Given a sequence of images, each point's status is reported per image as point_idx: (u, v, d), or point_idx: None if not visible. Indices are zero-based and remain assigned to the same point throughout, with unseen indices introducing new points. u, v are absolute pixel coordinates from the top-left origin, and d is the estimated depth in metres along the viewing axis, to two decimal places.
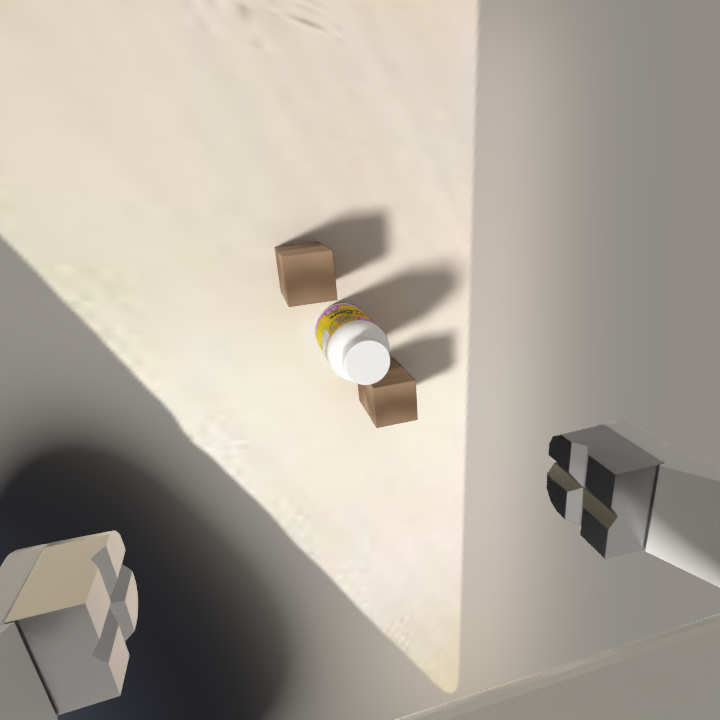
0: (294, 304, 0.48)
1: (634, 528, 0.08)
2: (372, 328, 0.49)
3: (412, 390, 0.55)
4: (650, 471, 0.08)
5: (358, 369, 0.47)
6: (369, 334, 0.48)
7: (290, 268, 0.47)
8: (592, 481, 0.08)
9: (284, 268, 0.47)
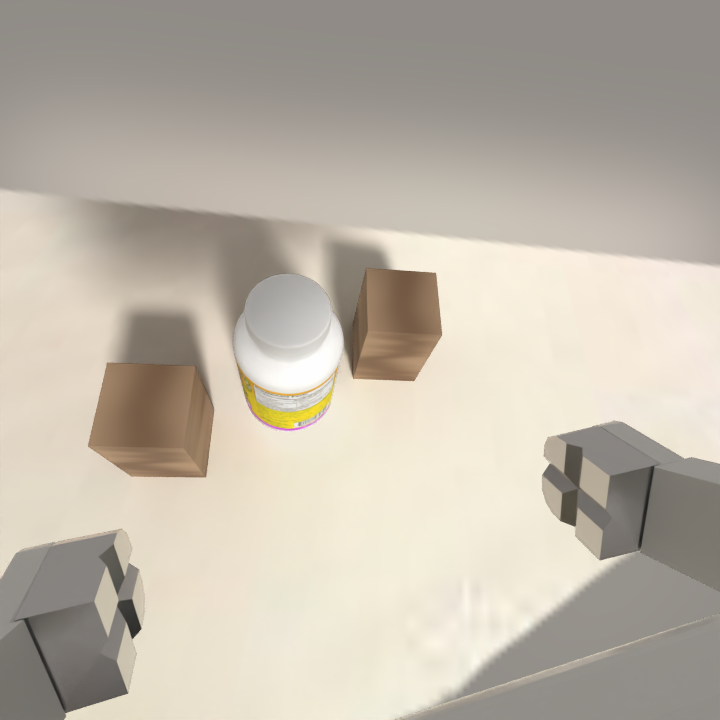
0: (181, 437, 0.27)
1: (629, 529, 0.08)
2: None
3: (383, 274, 0.33)
4: (644, 472, 0.08)
5: (297, 324, 0.25)
6: None
7: (113, 435, 0.26)
8: (587, 482, 0.08)
9: (110, 444, 0.26)
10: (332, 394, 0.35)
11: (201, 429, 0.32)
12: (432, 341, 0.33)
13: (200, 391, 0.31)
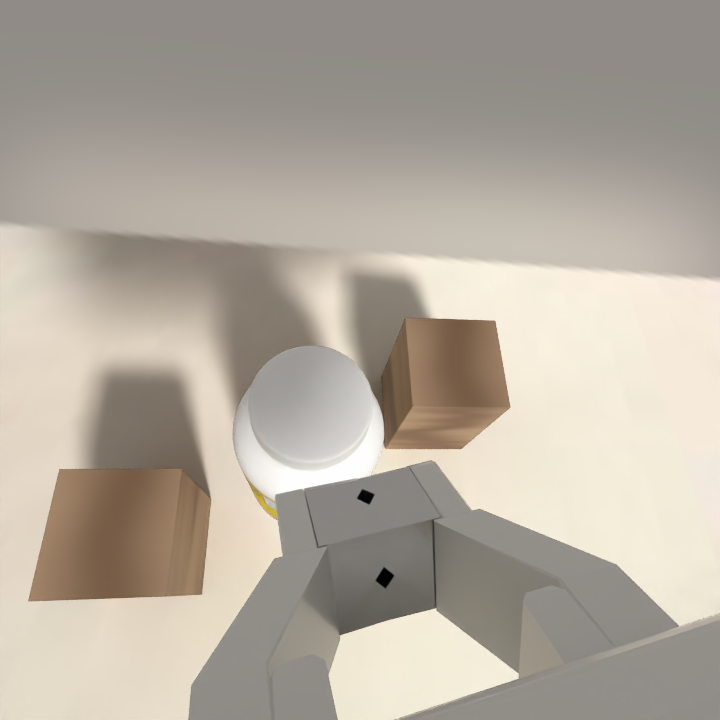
0: (163, 579, 0.19)
1: (418, 587, 0.08)
2: None
3: (427, 325, 0.26)
4: (425, 526, 0.07)
5: (325, 425, 0.17)
6: None
7: (65, 581, 0.19)
8: None
9: (61, 597, 0.18)
10: None
11: (193, 541, 0.24)
12: (495, 413, 0.25)
13: (190, 494, 0.23)
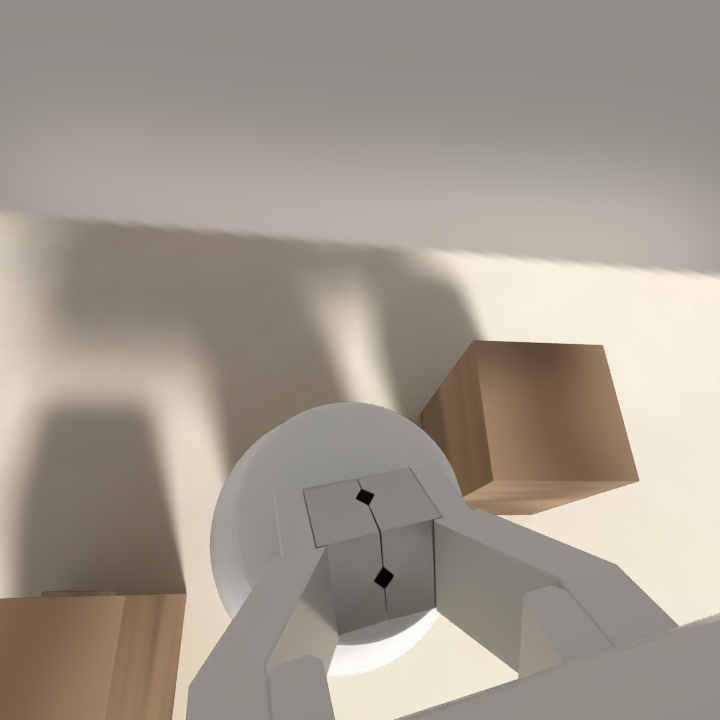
0: None
1: (418, 587, 0.08)
2: (242, 467, 0.12)
3: (506, 352, 0.17)
4: (425, 526, 0.07)
5: None
6: None
7: None
8: None
9: None
10: None
11: (152, 686, 0.15)
12: (611, 486, 0.17)
13: (145, 620, 0.14)
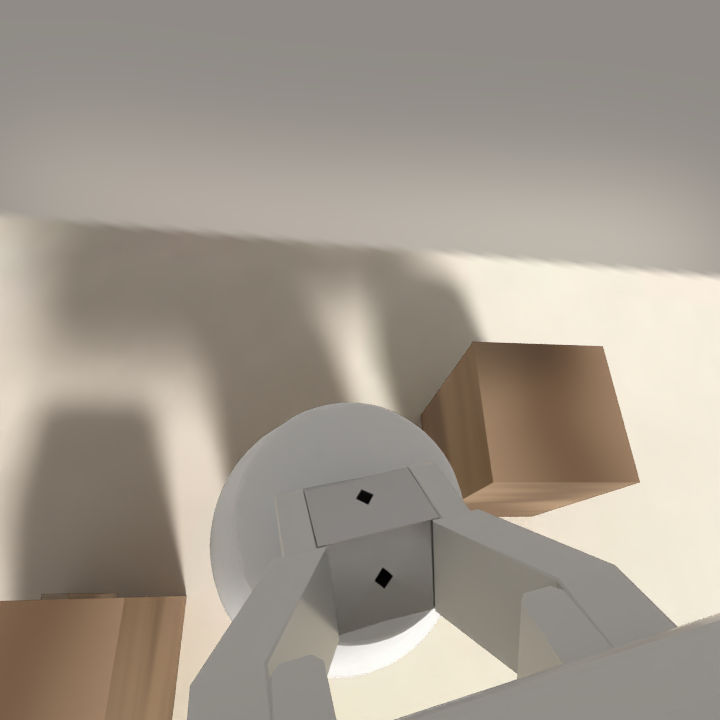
0: None
1: (416, 587, 0.08)
2: (243, 468, 0.12)
3: (505, 353, 0.17)
4: (424, 526, 0.07)
5: None
6: None
7: None
8: None
9: None
10: None
11: (151, 688, 0.15)
12: (611, 488, 0.17)
13: (145, 623, 0.14)
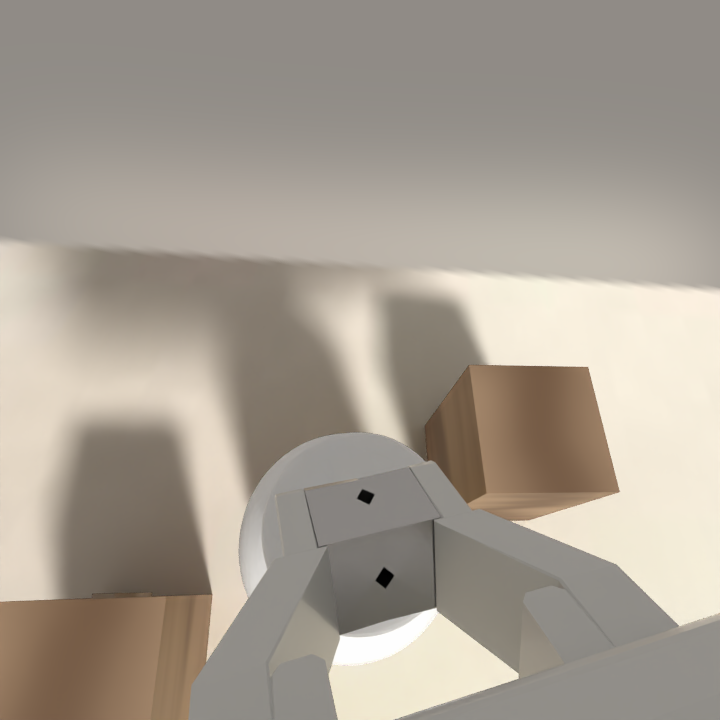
0: None
1: (418, 587, 0.08)
2: (266, 486, 0.14)
3: (499, 375, 0.19)
4: (425, 526, 0.07)
5: None
6: None
7: None
8: None
9: None
10: None
11: (186, 676, 0.17)
12: (595, 497, 0.18)
13: (181, 618, 0.16)
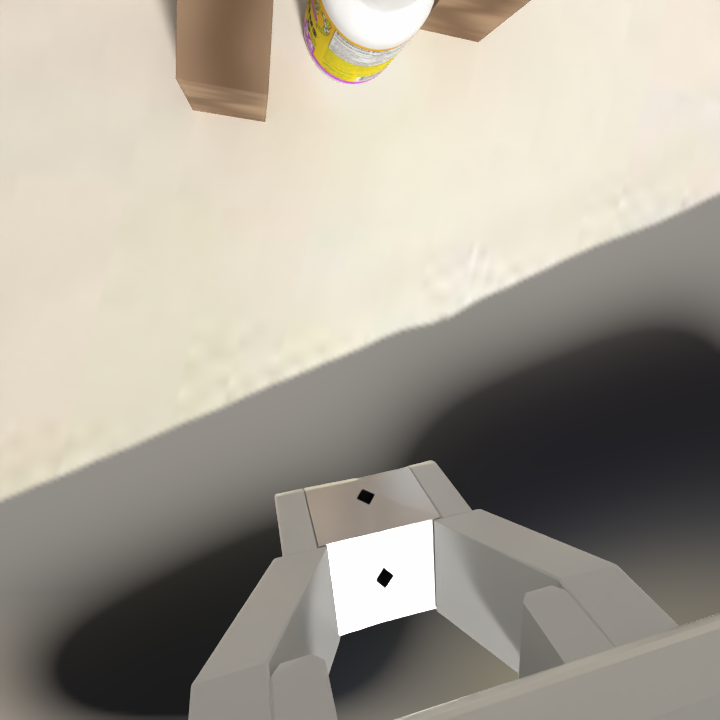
0: (265, 82, 0.27)
1: (418, 587, 0.08)
2: None
3: None
4: (425, 526, 0.07)
5: None
6: None
7: (198, 69, 0.27)
8: None
9: (198, 80, 0.27)
10: None
11: None
12: (521, 1, 0.30)
13: None
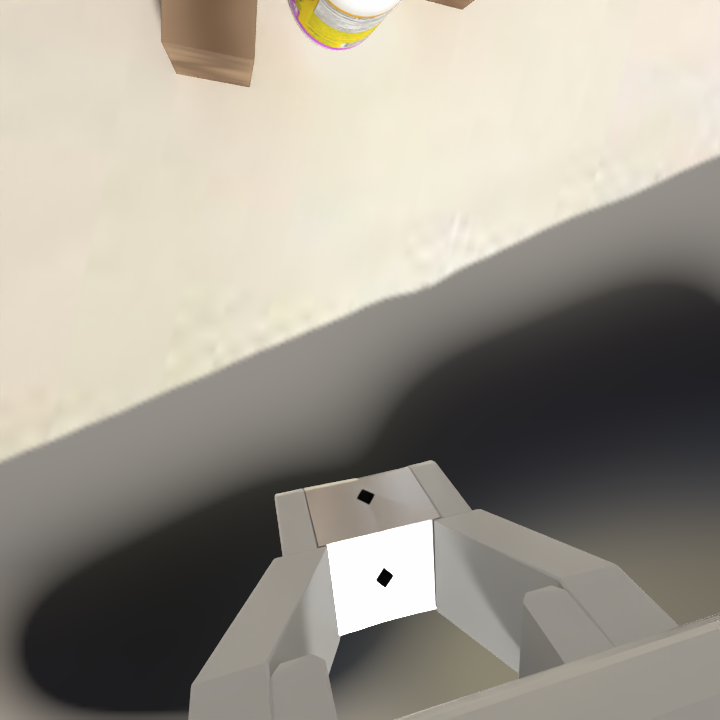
0: (251, 47, 0.28)
1: (418, 587, 0.08)
2: None
3: None
4: (425, 526, 0.07)
5: None
6: None
7: (184, 32, 0.26)
8: None
9: (183, 43, 0.27)
10: None
11: None
12: None
13: None
